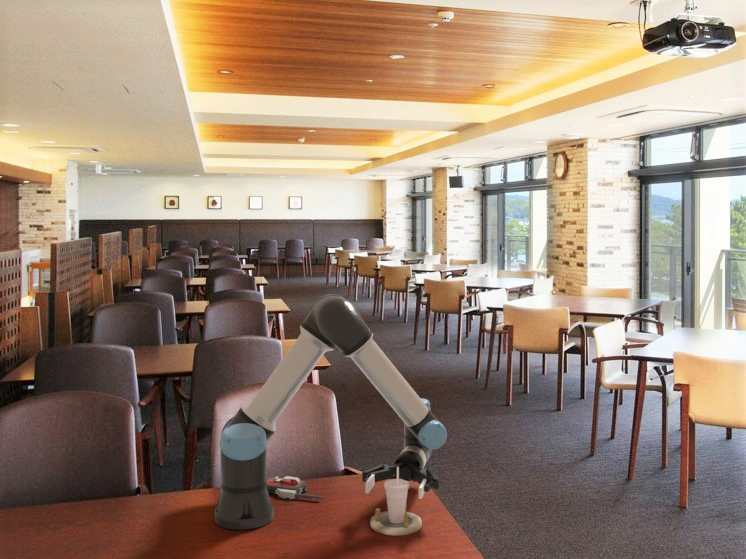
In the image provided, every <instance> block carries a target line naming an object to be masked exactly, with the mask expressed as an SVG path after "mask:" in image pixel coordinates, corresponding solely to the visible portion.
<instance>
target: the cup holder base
mask: <svg viewBox="0 0 746 559" xmlns="http://www.w3.org/2000/svg"><path fill="white" fill-rule="evenodd" d="M407 506H408V504H407V502H406V508H405V515H404V521H403V522H402V523H392V522H390V521H389V513H388V510H386V511H382V512H381V508H377V507H376V508H375V514H374V515H372V517H371V518H370V524H369V525H370V528H371V529H372V530H373V531H375V532H376V533H380V534H381V535H386V536H394V537H395V536H398V537H399V536H407V535H411V534H414V533H416V532H418V531H420V530H421V528H422V527H423V526H422V524H423V523H422V522H423V521H422V518H421V517H420V516H418V514H416V513H413V512H408V511H407Z"/></svg>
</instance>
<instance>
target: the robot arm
mask: <svg viewBox="0 0 746 559" xmlns="http://www.w3.org/2000/svg"><path fill="white" fill-rule="evenodd" d="M299 329H300V334H299V335H298V338H296V340H295V341H294V342H293V344H292V346H291V347H290V348H289V350H288V351H287V353H285V355H284V357H283V358H282V359H281V361H280V362H279V364H278V365H277V366H276V367H275V368H274V370H273V372H272V373H271V375H270V376H269V377H268V379H267V380H266V381H265V383H264V384H263V386H262V387H261V388H260V389H259V391H257V394H256V395H255V396H254V398H253V399H252V400H251V402H250V403H249V404H243V405H241V407H240V408H239V409H238V411H237V412H236V413H235V414H234V416H232V417H231V418H229V419H228V420H227V421H226V422H225V424H224V425H223V427H222V429H221V432H220V440H219V448H220V493H219V496H218V500H217V502H216V507H215V509H214V523H215V524H216V525H217V526H218V527H221V528H223V529H225V530H226V529H228V530H233V531H234V530H237V531H239V530H240V531H241V530H242V531H243V530H244V531H245V530H252V529H257V528H261V527H263V526H266V525H268V524H269V523H270V522H272V521H273V519H274V518H275V517H274V516H275V512H274V511H275V510H274V505H273V503H272V501H271V500H272V499H271V496H270V494H269V493H268V490H267V478H268V477H267V475H268V474H267V472H268V471H267V467H268V466H267V445H268V442H269V440H270V439H271V438H272V436H273V435H274V433H275V432H276V430H277V428H276V421H277V420H278V418H279V417H280V416H281V414H282V413H283V412H284V410H285V409H286V407H287V406H288V404H289V403H290V402H291V401H292V399H293V398H294V396H295V395H296V394H297V392H298V391H299V389H300V388H301V386H302V385H303V384H304V383H305V381H306V380H307V378H308V377H309V376H310V374H311V373H312V372H313V370H314V369H315V368H316V366H317V364H318V363H319V362H320V360H321V359H322V358H323V356H324V355H325V353H327V352H331V351H334V350H335V349H338V350H339V351H340V352H341V354H342V355H343V357H345V358H351V360H352V361H353V362H354V363H355V365H356V366H357V367H358V368H359V370H360V371H361V372H362V373H363V374H364V375H365V377H366V378H367V379H368V380H369V382H370V383H371V384H372V385H373V387H374V388H375V389H376V390H377V391H378V392H379V394H380V395H381V396H382V398H383V399H384V400H385V401H386V402H387V403H388V405H389V406H390V408H392V410H394V412H395V413H396V414H397V416H398V417H399V418H400V419H401V420H402V422H403V426H404V427H403V430H404V433H403V449H402V450H401V452H400V454H399V455H398V456H397V458H396V459H395V461H394V464H392V465H387V462H382V463H380V464H378V465H377V466H374V467H372V468H369V469H366V470H363V471H362V473H361V474H362V476H361V481H362V482H363V483H364V486H365V489H364V491H365V492H364V493H365V494H368V495H369V493H370V492H371V490H372V489H373V488H374V486H375V483H379V482H382V481H387V480H391V479H397V467H399V479H402V480H405V481H407V482H414V483H418V484H419V487H418V499H419V500H421V499H423V498H424V495H425V492H427V493H428V492H430V490H431V489H432V488H433V489H434V490H439V489H440V488H439V486H440V483H439V481H440V480H439V477H438V476H437V475H436V474H435V472H434V471H433V470H432V467H431V466H427V467H426V468H425V466H426V464H427V462H428V461H429V459H430V458H431V456H432V452H433V450H437V449H440V448H441V447H442V446H444V444H445V443H446V441H447V437H448V432H447V429H446V428H445V426H444V424H443V423H442V422H441V421H439V419H438V418H437V417H436V416H435V415H434V413H433V412H432V409H431V402H430V401H429V399H427V398H421V397H420V396H419V395H418V394H417V392H416V391H415V390H414V388H413V387H412V386H411V385H410V383H409V382H408V381H407V379H405V377H404V376H403V374H401V373H400V371H399V370H398V369H397V368H396V366H395V365H394V364H393V362H392V361H391V360H390V359H389V358H388V356H387V355H386V354H385V353H384V351H383V350H382V349H381V348H380V347H379V345H378V344H377V343H376V341H375V340H374V339H373V337H374V333H373V331H371V329H370V328H369V326H368V325H367V323H365V321H364V319H363V318H362V316H361V314H360V313H359V311H358V309H357V308H356V306H355V305H354V304H353V303H352V302H351V301H349V300H348V299H347V298H345V297H343V296H342V295H339V294H335V293H328V294H324V295H321V296H319V297H318V298H316V300H315V301H313V303H312V304H311V307H310V309H309V312H308V314H307V316H306V317H305V319H304V320H303V322H302V323H301V324H300V325H299Z"/></svg>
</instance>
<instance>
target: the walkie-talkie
mask: <svg viewBox="0 0 746 559" xmlns="http://www.w3.org/2000/svg"><path fill="white" fill-rule="evenodd" d="M308 489H309V488H308V484H307V481H305V480H301V479H300V477H297V476H289V475H285V476H284V477H283V478H281V477H280V478H279V476H278V475H277V476H275V477H267V490H268V493H273V494H272V495H275V494H277V495H278V496H277V495H276V496H277V497H279V496H280V497H281V499H286V498H289V499H288V500H292V499H294V498H295V499H296V498H297V499H300V498H301V499H308V500H309V499H310V500H313V499H316V500H322V499H323V497H322V495H321V496H320V495H315V494H314V495H313V494H306V493H304V492H307V491H308ZM303 491H304V492H303ZM302 492H303V493H302ZM301 493H302V494H301ZM280 497H279V498H280ZM295 499H294V500H295Z"/></svg>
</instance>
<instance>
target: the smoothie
mask: <svg viewBox="0 0 746 559" xmlns="http://www.w3.org/2000/svg"><path fill="white" fill-rule="evenodd" d="M409 482H410V481H406V480H403V479H399V467H397V479H387V480H385V481H384V483H383V488H384V489H385V495H386V505H387V511H388V513H389V521H390V522H392V523H402V522H403V521H404V515H405V508H406V503H407V501H408V500H407V498H408V493H409V492H408V490H409V489H410V483H409Z"/></svg>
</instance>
